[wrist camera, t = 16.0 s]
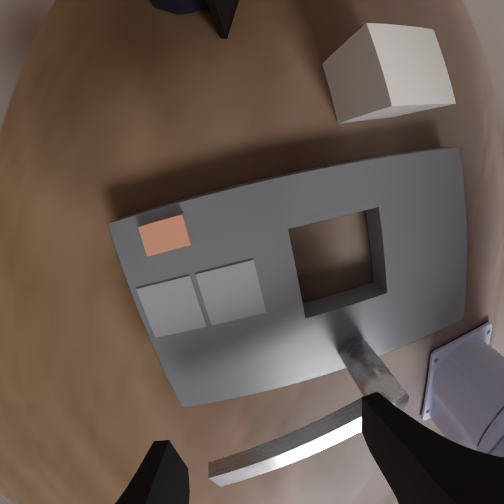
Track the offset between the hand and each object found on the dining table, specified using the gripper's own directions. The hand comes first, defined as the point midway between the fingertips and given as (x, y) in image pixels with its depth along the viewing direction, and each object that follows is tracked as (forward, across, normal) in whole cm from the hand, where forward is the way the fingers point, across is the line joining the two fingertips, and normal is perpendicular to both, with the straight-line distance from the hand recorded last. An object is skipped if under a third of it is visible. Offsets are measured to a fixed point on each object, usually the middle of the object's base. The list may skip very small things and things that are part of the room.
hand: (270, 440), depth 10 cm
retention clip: (+8, -2, +5) cm, 9 cm away
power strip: (+10, -5, -2) cm, 12 cm away
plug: (+10, -10, -13) cm, 19 cm away
